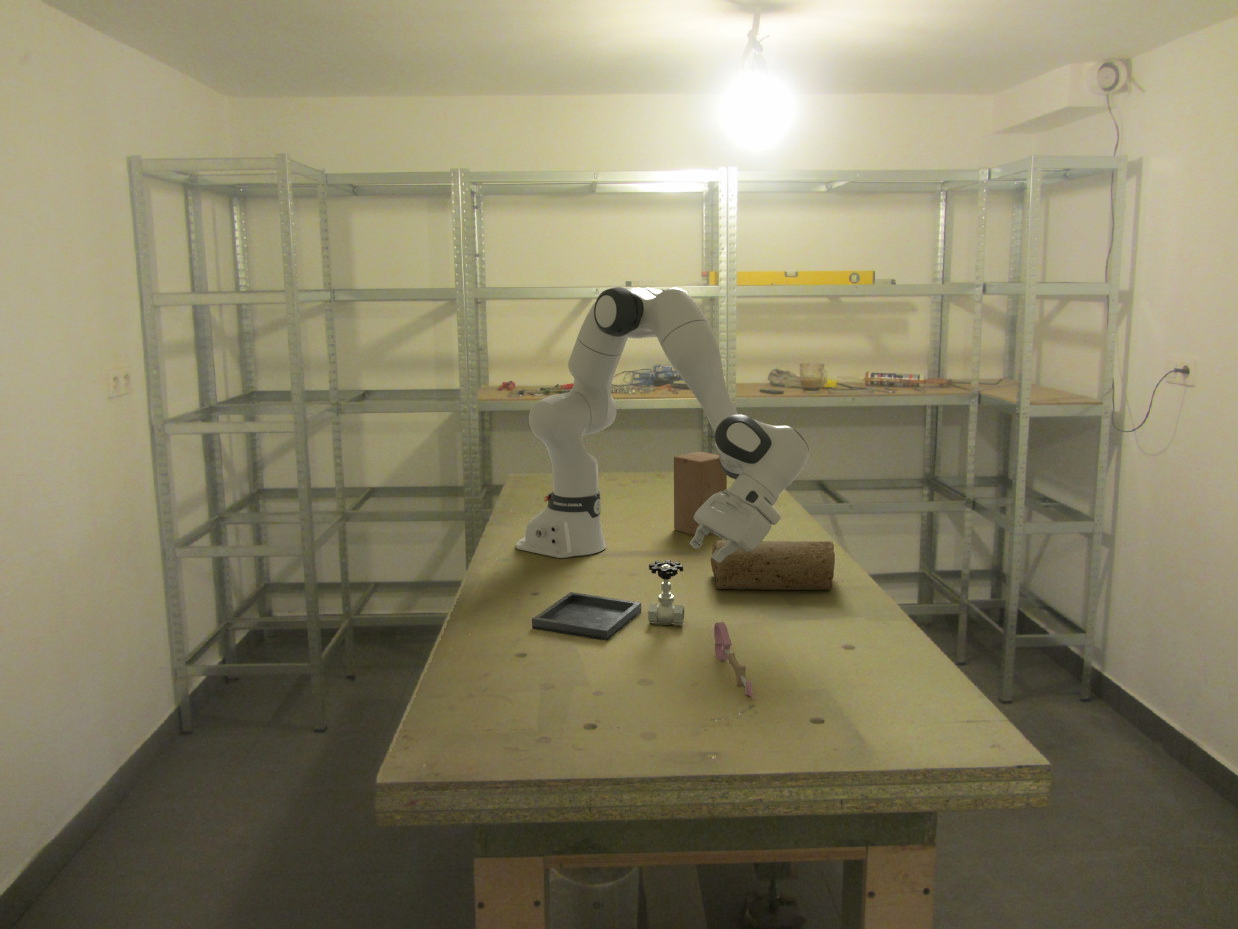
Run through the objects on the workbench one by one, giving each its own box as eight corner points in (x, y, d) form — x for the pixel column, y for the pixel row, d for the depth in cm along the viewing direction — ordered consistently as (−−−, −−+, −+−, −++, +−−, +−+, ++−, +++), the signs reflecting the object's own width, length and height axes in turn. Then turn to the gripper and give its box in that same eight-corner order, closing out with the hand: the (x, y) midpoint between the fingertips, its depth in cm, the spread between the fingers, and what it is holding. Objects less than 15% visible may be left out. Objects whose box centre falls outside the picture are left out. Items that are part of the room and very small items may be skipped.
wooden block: (700, 538, 232) (700, 461, 228) (673, 530, 239) (672, 456, 235) (727, 530, 239) (727, 456, 234) (699, 523, 246) (699, 450, 242)
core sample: (710, 574, 205) (710, 531, 203) (829, 575, 203) (830, 532, 201) (711, 595, 191) (711, 550, 189) (838, 597, 189) (840, 551, 187)
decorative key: (749, 719, 144) (712, 650, 162) (756, 718, 144) (719, 649, 162) (751, 683, 141) (714, 617, 160) (759, 682, 142) (721, 617, 160)
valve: (680, 631, 172) (680, 571, 169) (646, 629, 173) (645, 569, 171) (685, 618, 178) (685, 560, 176) (652, 617, 179) (651, 559, 177)
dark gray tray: (532, 628, 174) (531, 618, 174) (570, 601, 189) (570, 592, 188) (607, 641, 168) (606, 631, 167) (641, 611, 182) (641, 602, 182)
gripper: (714, 478, 185) (671, 530, 184) (765, 500, 167) (717, 558, 165) (733, 497, 188) (690, 548, 186) (785, 521, 169) (739, 578, 168)
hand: (703, 553), depth 176 cm, fingers open, 8 cm apart
